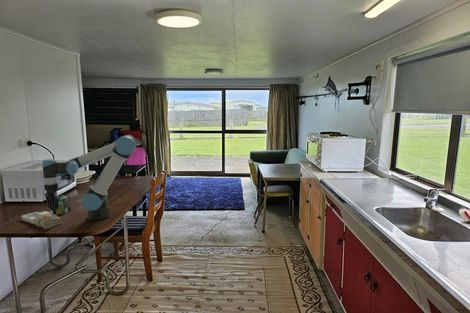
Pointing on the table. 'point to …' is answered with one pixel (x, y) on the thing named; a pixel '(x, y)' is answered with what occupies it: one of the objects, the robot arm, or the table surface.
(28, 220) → the tray
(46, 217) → the salmon tan block
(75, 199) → the table surface
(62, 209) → the chalk box
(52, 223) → the birch board
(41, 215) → the off-white block
